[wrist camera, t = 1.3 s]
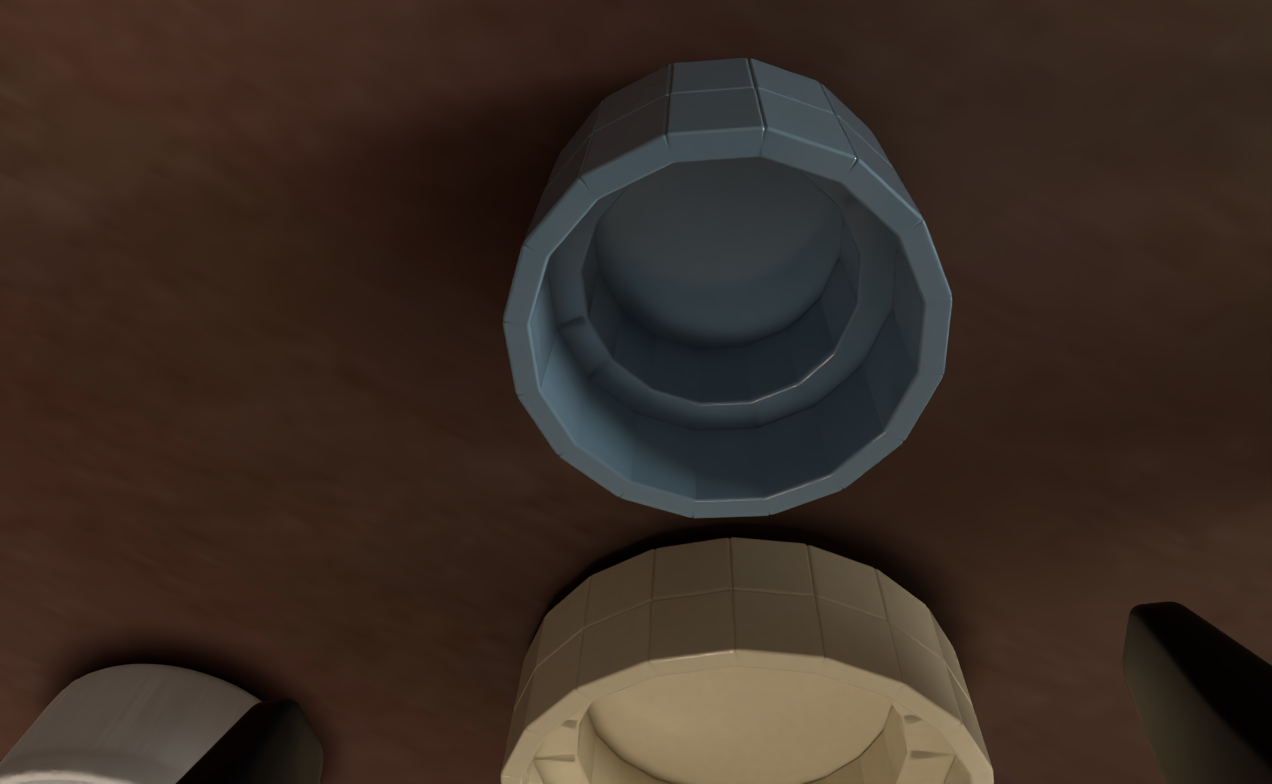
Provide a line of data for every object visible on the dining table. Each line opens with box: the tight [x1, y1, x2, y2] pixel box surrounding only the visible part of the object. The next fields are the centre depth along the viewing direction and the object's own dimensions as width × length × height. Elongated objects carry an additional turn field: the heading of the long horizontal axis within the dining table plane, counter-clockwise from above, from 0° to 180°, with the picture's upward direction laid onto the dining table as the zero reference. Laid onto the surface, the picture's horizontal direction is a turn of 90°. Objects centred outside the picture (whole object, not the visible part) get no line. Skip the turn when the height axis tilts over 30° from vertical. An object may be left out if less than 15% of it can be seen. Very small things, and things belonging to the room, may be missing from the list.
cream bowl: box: [501, 537, 994, 784], centre depth 24 cm, size 12×12×4 cm
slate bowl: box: [502, 58, 953, 518], centre depth 17 cm, size 7×7×5 cm
